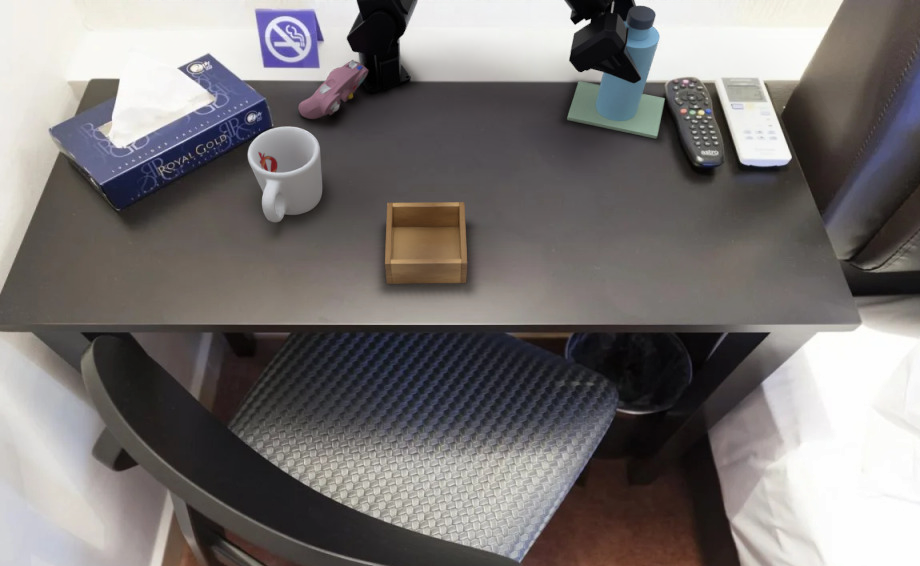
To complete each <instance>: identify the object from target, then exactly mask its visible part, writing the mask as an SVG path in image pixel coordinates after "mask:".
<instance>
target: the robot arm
mask: <svg viewBox="0 0 920 566" xmlns="http://www.w3.org/2000/svg"><path fill="white" fill-rule="evenodd" d="M418 1H419V0H356V5H357V7H358V11H359V12H358V13H357V16H356V17H355V20H354V22H353V24H352V26H351V28H350V30H349V32H348V34H347V35H346V41H347V43H348V45H349V47H350V49H351V52H352V53H358V61H359V62H358V63H360V64H362V65H363V66H364V67H365V68H367V69H368V70H369V71H368V74H367V76H366V78H365V79H364V80H363V82H362V83H361V84H362V86H363V87H364V89H365V91H367V93H369V94H371V95H372V94H375V93H379V92H382V91H384V90H388V89H392V88H394V87H397V86H400V85H403V84H406V83H407V84H408V83H410V82H411V81H412V77H411V74H410V73H409V72H408V71H407V70H406V68H405V67H404V66H403V64H402V56H401V39H400V38H401V37H402V36H404V35H405V33H406V30H407V29H408V25H409V24H410V21H411V18H412V16H413V13H414V12H415V9H416V6H417V4H418ZM563 1H564V2H565V4H566V5H567V6H568V8H569V9H570V10H571V12H570V17H569V20H570V21H571V22H572V24H573V25H574V26H576V25H577V24H579V23H581V22H582V21H583V20H584V21H586V22H587V21H590V22H589V23H588V24H586V25H584V26H583V27H582V28H579V30H577V31H575V32H574V33H573V37H572V42H571V48H570V52H569V57H568V58H569V59H568V62H569V63H570V64H571V65H572V66H573V67H574V69H575V70H576V71H577V72H578V73H583V72H585V71H586V72H587V71H589V70H593V71H598V72H601V73H603V72H604V73H607V74H610V75H613V76H615V77H618V78H620V79H623V80H626V81H628V82H631V83H636V82H638V81H640V80H641V75H640V73H639V71H638V69H637V67H636V65H635V63H634V61H633V59H632V57H631V55H630V53H629V51H628V49H627V47H626V45H627V41H628V33H629V28H627V29H626V27H625V24H624V21H626V19H627V15H628V11H629V9H630V8H632V7H634V6H637V4H636V1H635V0H563Z"/></svg>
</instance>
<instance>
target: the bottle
mask: <svg viewBox="0 0 920 566" xmlns="http://www.w3.org/2000/svg"><path fill="white" fill-rule="evenodd" d="M656 15H657V14H656V11H654V9H652V7H649V6H647V5H636V6H634V7H632V8H630V9H629V11H628V15H627V19H626V21H624V24H625V27H626V29H627V28H629V33H628V41H627V45H626V47H627V49H628V51H629V53H630V55H631V57H632V59H633V61H634V63H635V65H636V67H637V69H638V71H639V73H640V75H641V80H640V81H638V82H636V83H631V82H628V81H626V80H623V79H620V78H618V77H615V76H613V75H610V74H607V73H604V72H602V76H601V80H600V84H599V85H600V88H599V92H598V96H597V100H596V109H597V111H598V112H599V114H600V115H602V116H603V117H605V118H607V119H610V120H614V121H625V120H629V119H631V118H632V117H634V116H635V114H636V113H637V110H638V106H639V103H640V100H641V97H642V94H644V90H645V87H646V84H647V80H648V77H649V74H650V70H651V67H652V63H653V61H654V58H655V56H656V51H657V49H658V45H659V41H660V39H661V37H660V33H659V31H658V29H657V28H656V27H655V26H654V23H655V20H656Z"/></svg>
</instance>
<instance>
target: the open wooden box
mask: <svg viewBox="0 0 920 566" xmlns="http://www.w3.org/2000/svg"><path fill="white" fill-rule="evenodd" d="M385 224H386V226H385V227H386V228H385V247H384V248H385V250H384V251H385V252H384V268H385V277H386V284H388V285H389V284H391V285H393V284H466V283H467V277H468V276H467V274H468V251H467V230H466V229H467V228H466V205H465V201H458V202H455V201H453V202H452V201H451V202H449V201H447V202H445V201H443V202H436V201H435V202H387V203H386V223H385Z"/></svg>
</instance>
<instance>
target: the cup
mask: <svg viewBox="0 0 920 566" xmlns="http://www.w3.org/2000/svg"><path fill="white" fill-rule="evenodd" d="M247 161H248V163H249V166H250V167H251V170H252V172H253V174H254V176H255V178H256V181H257V183H258V185H259V187H260V190H261V191H262V197H261V206H262V211H263V215H264V216H265V218H266V219H267V220H268V221H269V222H272V223H279V222H281V221H282V220H283V218H284V216H286V215H287V216H298V215H302V214H305V213H307V212H310V211H312V210H313V209H315V207H316V206H317V205H318V204H319V203H320V201H321V199H322V195H323V175H322V174H323V173H322V160H321V147H320V143H319V141H318V139H317V138H316V136H315V135H313V134H312V133H311V132H309V131H308V130H306V129H304V128H301V127H297V126H290V125H289V126H279V127H273V128H270V129H267V130H266V131H264V132H262V133H260V134H259V135H258V136H256V137H255V138H254V139H253V141H251V143H250V145H249V146H248V150H247Z"/></svg>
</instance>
